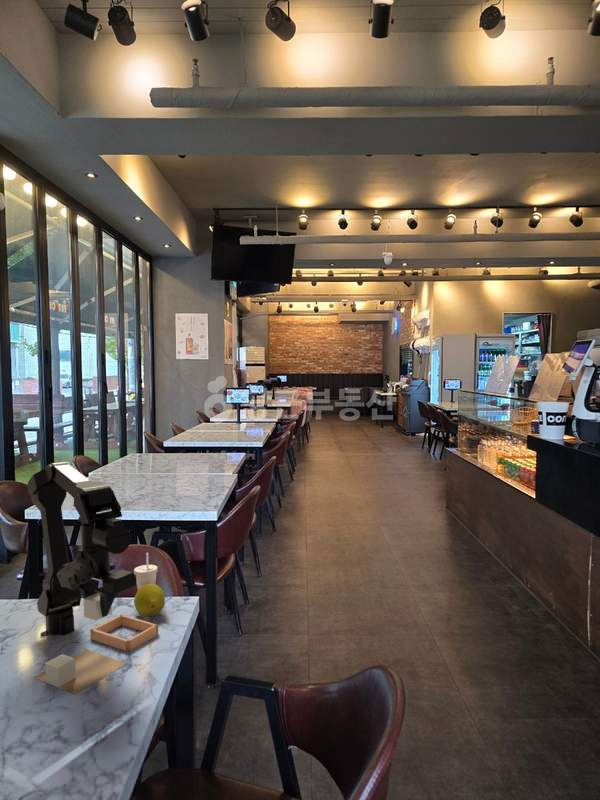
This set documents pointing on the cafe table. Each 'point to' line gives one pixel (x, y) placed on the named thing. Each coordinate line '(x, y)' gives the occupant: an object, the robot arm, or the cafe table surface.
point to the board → (88, 670)
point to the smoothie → (145, 574)
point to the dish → (121, 643)
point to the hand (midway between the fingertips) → (98, 614)
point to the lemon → (149, 600)
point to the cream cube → (93, 607)
